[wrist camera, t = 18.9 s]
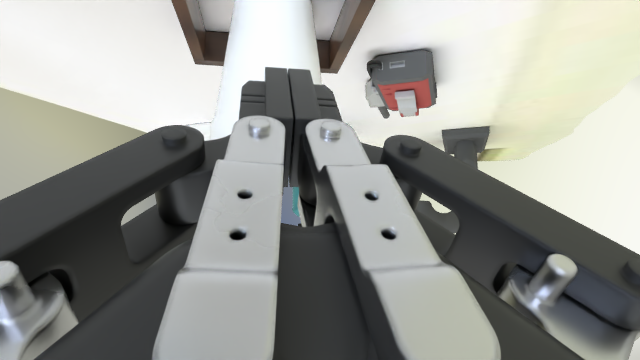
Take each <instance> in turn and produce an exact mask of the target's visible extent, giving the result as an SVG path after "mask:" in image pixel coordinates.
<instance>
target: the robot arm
mask: <svg viewBox="0 0 640 360" xmlns="http://www.w3.org/2000/svg"><path fill="white" fill-rule="evenodd" d="M288 177H289V183H290V187H299V195H298V210H299V215H300V219H301V224H302V227H300V226H294V225H289V224H284V223H281V205H282V196H283V188H284V187H288ZM154 193H155V197H156V202H157V204H156V205H154V206H153V207H151V208H150V209H148V210H146V211H145V212H143V213H141V214H140V215H139V216H137V217H135V218H133V219H132V220H130V221H129V222H127V223H126V224H124V225H122V226H121V220H122V218H123V216H124V214H125V213H126V212H127V210H129V209H130V208H131V207H132V206H134V205H136V204H137V203H139V202H141V201H142V200H144V199H146V198H147V197H149V196H151V195H152V194H154ZM422 193H424V194H425V195H427V196H429V197H430V198H432V199H434V200H435V201H437V202H439V203H440V204H442V205H443V206H445V207H447V208H448V209H450V210H451V211H453V212H454V213H455V215H456V216H457V218H458V220H459V229H458V231H457V233H456V235H455V234H453V233H452V232H450V231H449V230H447V229H446V228H444V227H443V226H441V225H439V224H438V223H436V222H435V221H433V220H432V219H430V218H429V217H427V216H426V215H424V214H422V213H421V212H419V211H418V210H416V208H417V206H418V203H419V200H420V197H421V195H422ZM639 337H640V255H639V254H637V253H635V252H633V251H631V250H629V249H627V248H626V247H623V246H622V245H620V244H618V243H616V242H614V241H612V240H610V239H609V238H607V237H605V236H603V235H601V234H599V233H597V232H595V231H593V230H591V229H590V228H588V227H586V226H584V225H582V224H580V223H578V222H576V221H574V220H572V219H570V218H569V217H567V216H565V215H563V214H561V213H559V212H557V211H556V210H554V209H552V208H550V207H548V206H546V205H544V204H542V203H540V202H538V201H537V200H535V199H533V198H531V197H529V196H527V195H525V194H523V193H521V192H520V191H518V190H516V189H514V188H512V187H510V186H508V185H506V184H504V183H503V182H501V181H499V180H497V179H495V178H493V177H491V176H489V175H487V174H485V173H484V172H482V171H480V170H478V169H476V168H474V167H472V166H470V165H468V164H467V163H465V162H463V161H461V160H459V159H457V158H455V157H453V156H451V155H450V154H448V153H446V152H444V151H442V150H440V149H438V148H436V147H434V146H433V145H431V144H429V143H427V142H425V141H423V140H421V139H418V138H416V137H412V136H407V135H395V136H391V137H389V138H388V139H386V141H385V143H384V147H383V148H380V147H376V146H371V145H367V144H364V143H361V142H360V141H359V139H358V137H357V135H356V133H355V131H354V129H353V128H352V127H351V126H349V125H348V124H346V123H344V122H342V119H341V116H340V113H339V109H338V107H337V103H336V101H335V97H334V94H333V92H332V91H331V90H330V89H329V88H328V87H326V86H325V85H317V84H313V80H312V76H311V72H310V70H306V69H291V68H288V73H287V68H276V67H265V81H252V80H249V81H248V82H247V83H245V84H244V85H243V86H242V90H241V100H240V110H239V120H238V121H236V122H235V123H234V125H233V128H232V132H231V134H230V135H228V136H226V137H223V138H220V139H215V140H208V141H204V136H203V134H202V133H201V132H200V131H199V130H197V129H195V128H192V127H189V126H182V125H172V126H165V127H161V128H158V129H155V130H153V131H151V132H149V133H147V134H144V135H142V136H140V137H138V138H136V139H134V140H131V141H129V142H127V143H125V144H122V145H120V146H118V147H116V148H114V149H112V150H109V151H107V152H105V153H103V154H101V155H98V156H96V157H94V158H92V159H90V160H88V161H85V162H83V163H81V164H79V165H77V166H74V167H72V168H70V169H68V170H66V171H64V172H62V173H59V174H57V175H55V176H53V177H50V178H48V179H46V180H44V181H42V182H39V183H37V184H35V185H33V186H31V187H29V188H26V189H24V190H22V191H20V192H18V193H16V194H13V195H11V196H9V197H7V198H4V199H2V200H0V360H628V359H629V356H630V353H631V349H632V347H633V344H634V341H635V340H637V339H638V338H639Z"/></svg>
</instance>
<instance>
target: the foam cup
mask: <svg viewBox="0 0 640 360" xmlns="http://www.w3.org/2000/svg"><path fill="white" fill-rule="evenodd" d="M265 67H276V68H287V73H288V68H291V69H306V70H310V72H311V76H312V80H313V84H317V85H322V80H321V72H320V64H319V57H318V49H317V41H316V33H315V26H314V18H313V11H312V4H311V0H235V4H234V8H233V14H232V20H231V25H230V31H229V37H228V43H227V49H226V54H225V60H224V66H223V72H222V77H221V83H220V89H219V95H218V100H217V106H216V112H215V117H214V118H213V120H212V123H211V128H210V140H215V139H220V138H223V137H226V136H228V135H230V134H231V132H232V128H233V125H234V123H235V122H236V121H238V120H239V110H240V100H241V90H242V86H243V85H244V84H245V83H247V82H248V81H249V80H252V81H265Z"/></svg>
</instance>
